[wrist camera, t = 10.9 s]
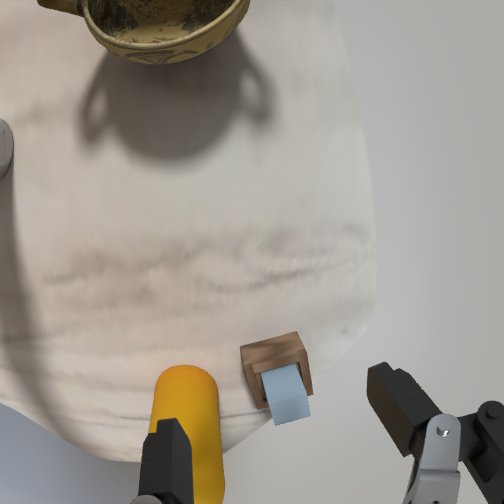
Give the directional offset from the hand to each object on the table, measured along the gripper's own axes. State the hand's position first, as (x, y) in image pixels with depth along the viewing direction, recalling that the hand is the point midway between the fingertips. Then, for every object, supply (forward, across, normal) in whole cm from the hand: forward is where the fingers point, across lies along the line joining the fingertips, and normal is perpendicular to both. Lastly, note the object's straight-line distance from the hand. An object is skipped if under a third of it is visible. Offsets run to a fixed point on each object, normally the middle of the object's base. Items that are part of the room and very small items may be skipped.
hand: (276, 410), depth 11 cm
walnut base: (+26, -2, +19) cm, 32 cm away
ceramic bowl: (+27, +1, -28) cm, 38 cm away
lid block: (+22, -2, +19) cm, 29 cm away
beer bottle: (+26, +11, +21) cm, 35 cm away
